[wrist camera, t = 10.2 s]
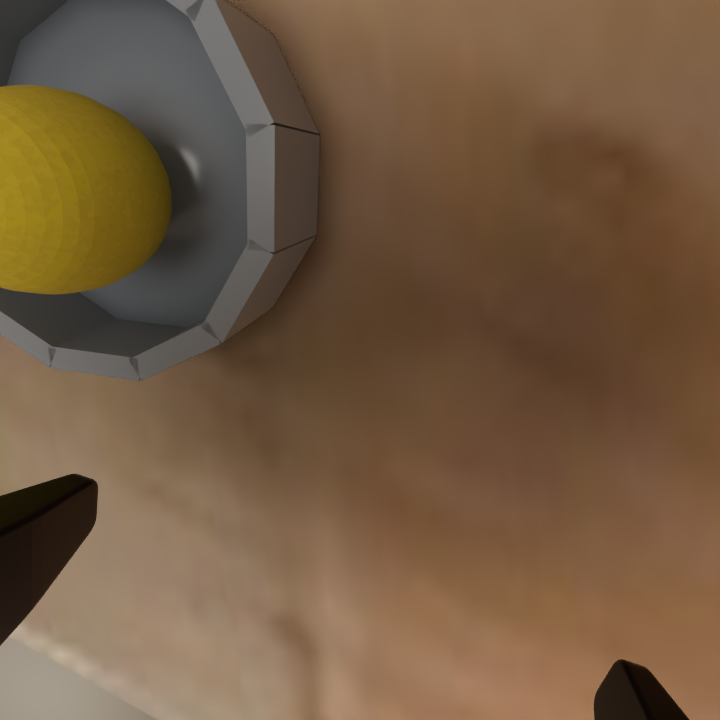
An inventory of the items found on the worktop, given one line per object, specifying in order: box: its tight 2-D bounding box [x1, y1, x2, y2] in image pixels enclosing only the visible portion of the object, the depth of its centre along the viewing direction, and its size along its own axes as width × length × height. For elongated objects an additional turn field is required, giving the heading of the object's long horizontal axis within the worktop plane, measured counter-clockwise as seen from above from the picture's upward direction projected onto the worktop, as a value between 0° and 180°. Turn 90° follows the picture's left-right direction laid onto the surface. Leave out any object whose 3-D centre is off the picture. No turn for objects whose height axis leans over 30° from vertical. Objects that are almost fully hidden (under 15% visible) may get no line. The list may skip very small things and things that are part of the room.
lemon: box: [0, 85, 172, 294], centre depth 15 cm, size 6×6×8 cm
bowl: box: [0, 0, 320, 381], centre depth 17 cm, size 13×13×4 cm
